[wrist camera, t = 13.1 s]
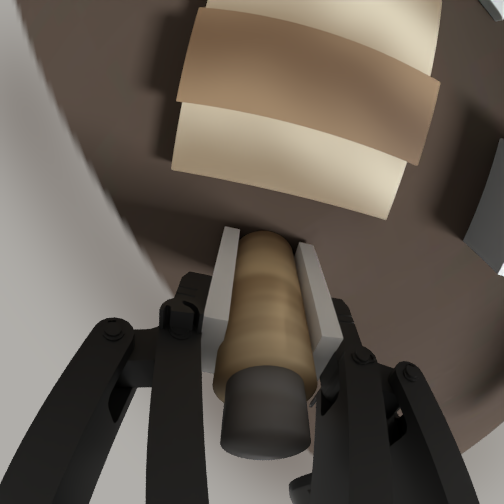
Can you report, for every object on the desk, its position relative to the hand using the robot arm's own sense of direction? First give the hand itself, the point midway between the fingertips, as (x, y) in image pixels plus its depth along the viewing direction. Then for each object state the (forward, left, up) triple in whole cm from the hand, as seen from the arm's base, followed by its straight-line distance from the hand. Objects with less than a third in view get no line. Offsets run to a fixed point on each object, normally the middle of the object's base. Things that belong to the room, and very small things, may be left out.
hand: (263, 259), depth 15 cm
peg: (0, 0, 0) cm, 0 cm away
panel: (+10, 0, 0) cm, 10 cm away
